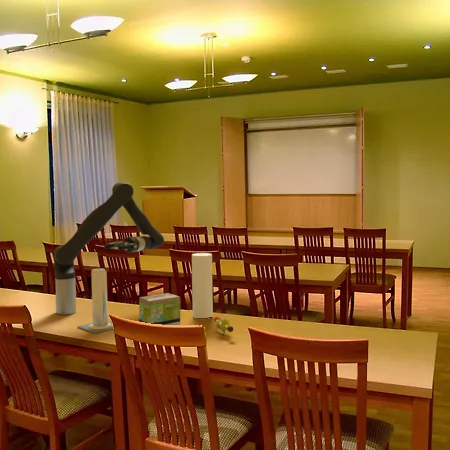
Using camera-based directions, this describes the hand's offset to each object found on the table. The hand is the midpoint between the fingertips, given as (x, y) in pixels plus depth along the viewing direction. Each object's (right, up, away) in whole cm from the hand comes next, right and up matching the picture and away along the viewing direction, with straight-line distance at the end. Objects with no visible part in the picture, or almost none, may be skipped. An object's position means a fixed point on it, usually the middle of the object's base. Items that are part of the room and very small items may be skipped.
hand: (111, 247), depth 239 cm
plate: (-1, -34, -16) cm, 38 cm away
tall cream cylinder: (-1, -34, -16) cm, 37 cm away
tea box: (+26, -35, -22) cm, 48 cm away
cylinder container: (+43, -33, +1) cm, 54 cm away
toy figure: (+53, -35, -28) cm, 69 cm away
